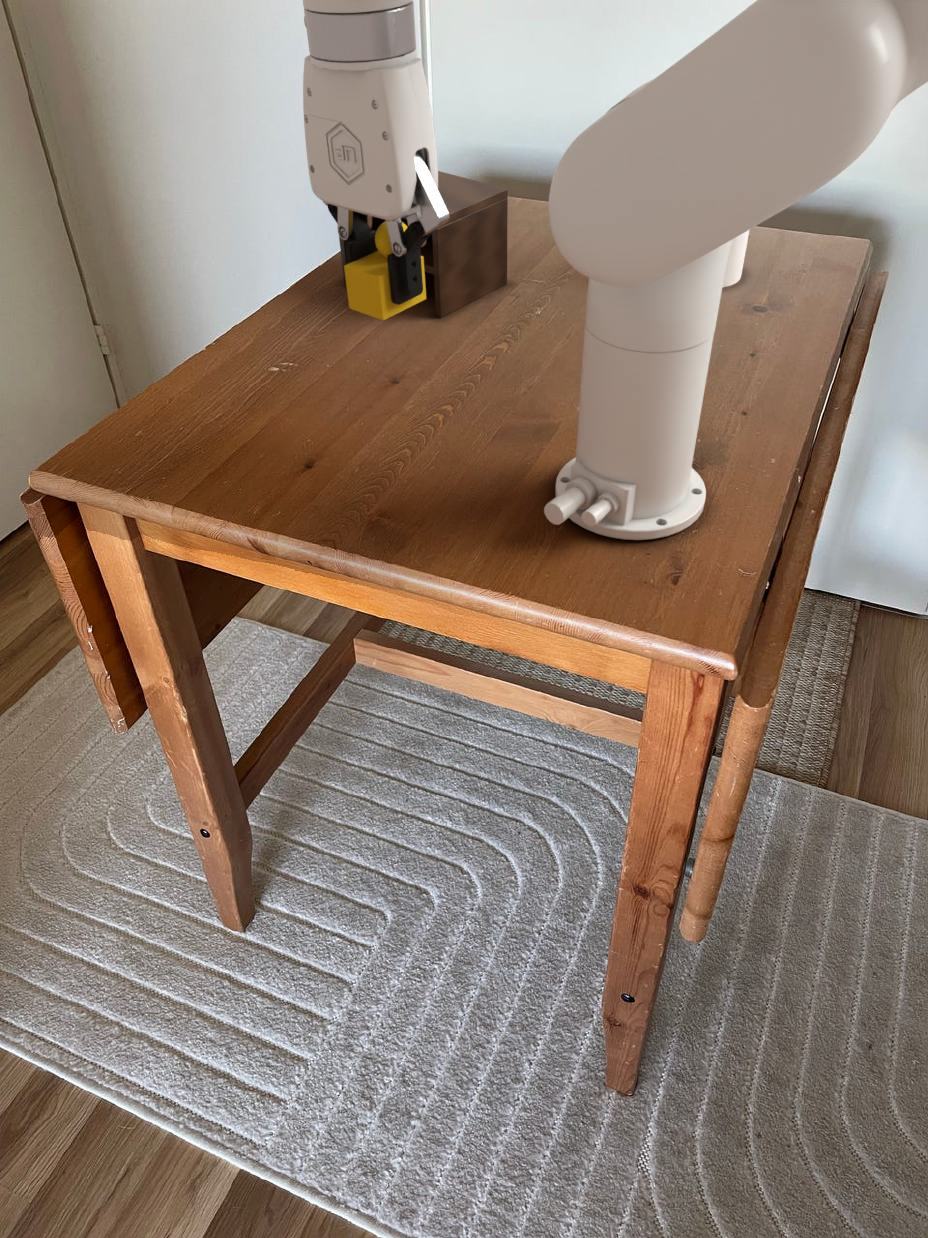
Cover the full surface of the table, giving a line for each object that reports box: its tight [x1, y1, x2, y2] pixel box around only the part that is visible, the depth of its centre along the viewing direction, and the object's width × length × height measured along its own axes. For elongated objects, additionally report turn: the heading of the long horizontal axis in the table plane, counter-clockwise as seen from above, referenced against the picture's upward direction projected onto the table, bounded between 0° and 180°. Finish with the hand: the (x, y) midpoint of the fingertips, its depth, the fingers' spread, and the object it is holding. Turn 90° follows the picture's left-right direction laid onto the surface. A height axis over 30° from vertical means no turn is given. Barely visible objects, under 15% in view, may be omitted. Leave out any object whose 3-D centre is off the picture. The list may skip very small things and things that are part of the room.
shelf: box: [338, 170, 509, 319], centre depth 109 cm, size 12×16×11 cm
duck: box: [344, 221, 427, 321], centre depth 76 cm, size 7×4×6 cm, turn 139°
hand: (386, 289), depth 77 cm, fingers closed on duck, 4 cm apart
